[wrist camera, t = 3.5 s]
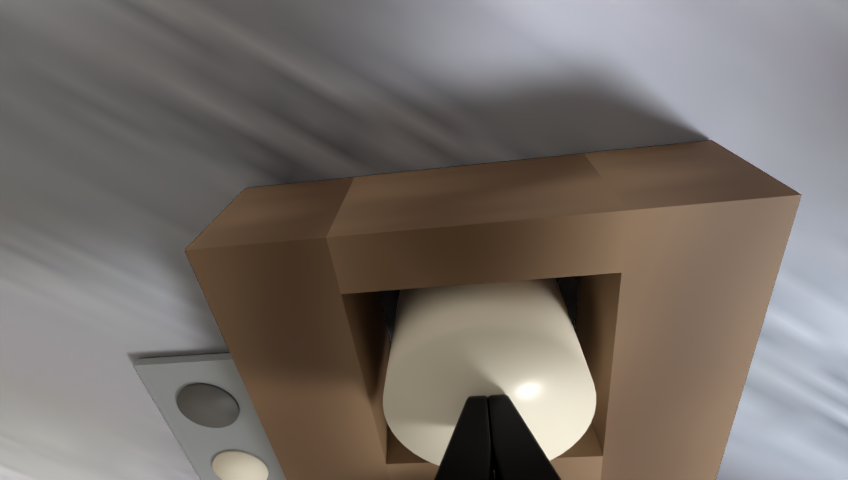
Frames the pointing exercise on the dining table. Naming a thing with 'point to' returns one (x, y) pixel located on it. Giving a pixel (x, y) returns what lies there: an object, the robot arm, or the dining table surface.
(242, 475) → the card
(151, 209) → the dining table surface
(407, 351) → the button
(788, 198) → the wooden compartment tray
